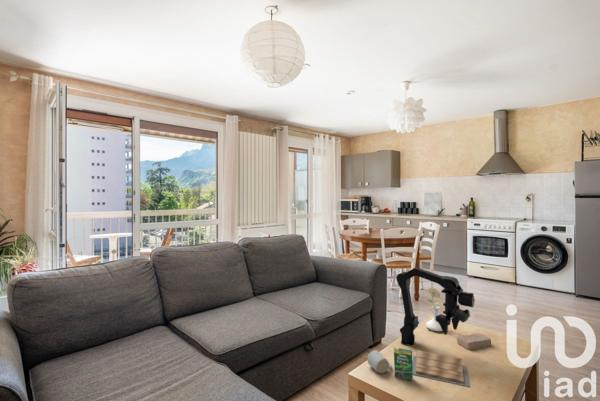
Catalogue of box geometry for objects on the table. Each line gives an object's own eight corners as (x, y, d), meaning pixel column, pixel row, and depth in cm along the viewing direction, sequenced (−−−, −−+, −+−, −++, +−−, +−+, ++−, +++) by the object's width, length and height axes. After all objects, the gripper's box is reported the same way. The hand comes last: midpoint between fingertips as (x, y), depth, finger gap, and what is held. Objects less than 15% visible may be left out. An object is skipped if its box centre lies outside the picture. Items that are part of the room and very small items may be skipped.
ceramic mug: (377, 376, 144) (377, 360, 143) (366, 367, 151) (367, 351, 151) (395, 371, 148) (395, 355, 148) (384, 362, 155) (385, 347, 155)
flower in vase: (450, 331, 187) (450, 290, 187) (434, 334, 184) (434, 292, 183) (435, 322, 200) (435, 284, 199) (420, 325, 197) (420, 286, 196)
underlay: (410, 374, 145) (410, 373, 145) (413, 356, 160) (413, 355, 160) (469, 386, 135) (469, 386, 135) (465, 366, 151) (465, 365, 151)
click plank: (416, 364, 152) (416, 362, 151) (417, 351, 158) (417, 350, 157) (462, 373, 144) (462, 372, 143) (461, 360, 149) (461, 358, 149)
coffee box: (393, 376, 143) (393, 348, 143) (394, 373, 146) (394, 346, 145) (411, 381, 139) (411, 353, 139) (412, 378, 142) (412, 350, 141)
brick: (479, 339, 178) (479, 331, 178) (492, 346, 170) (492, 337, 170) (456, 343, 174) (456, 335, 174) (468, 351, 166) (468, 342, 165)
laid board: (415, 373, 145) (415, 370, 145) (416, 365, 151) (416, 363, 151) (463, 383, 137) (463, 380, 137) (462, 375, 143) (462, 372, 143)
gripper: (457, 311, 147) (456, 343, 148) (476, 303, 158) (475, 333, 159) (435, 304, 157) (434, 334, 157) (454, 296, 167) (453, 325, 168)
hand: (450, 332), depth 160 cm, fingers open, 9 cm apart
